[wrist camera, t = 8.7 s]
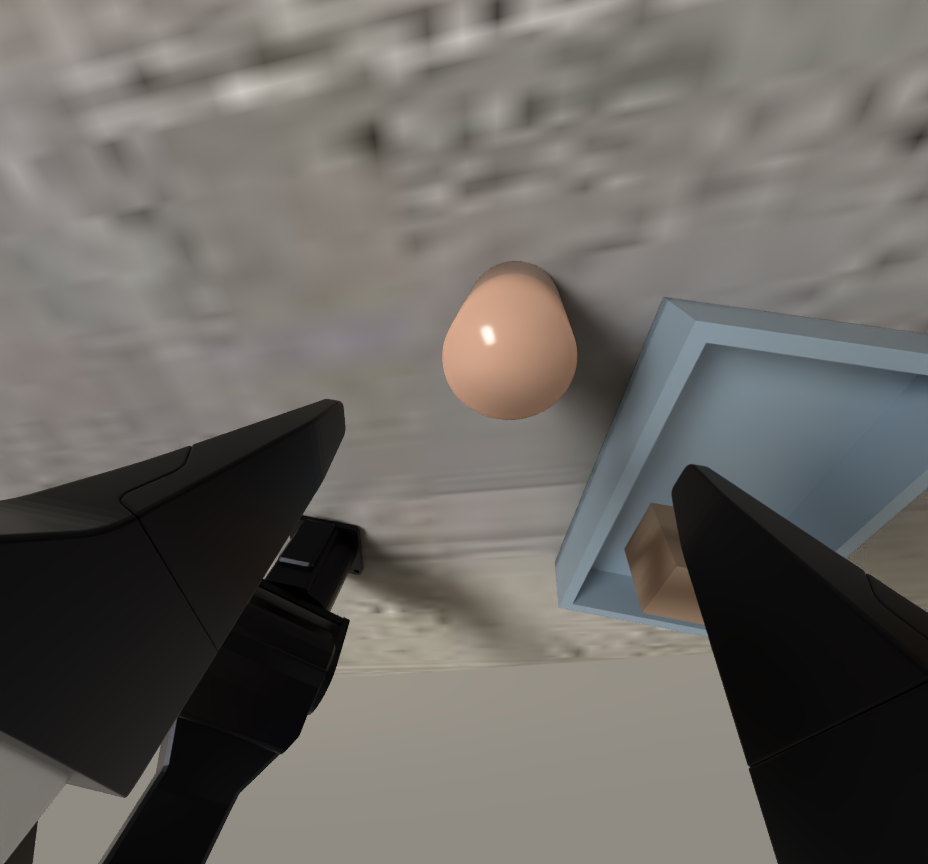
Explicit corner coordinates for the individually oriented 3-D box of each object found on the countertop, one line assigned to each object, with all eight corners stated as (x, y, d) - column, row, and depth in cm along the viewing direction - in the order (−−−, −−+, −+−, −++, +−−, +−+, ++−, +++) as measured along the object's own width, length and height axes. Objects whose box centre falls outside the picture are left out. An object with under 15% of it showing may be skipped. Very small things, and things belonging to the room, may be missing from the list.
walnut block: (691, 561, 27) (721, 628, 22) (624, 548, 27) (642, 612, 23) (726, 515, 24) (768, 583, 20) (650, 502, 24) (676, 565, 20)
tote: (720, 593, 29) (745, 644, 26) (554, 562, 30) (558, 607, 26) (955, 338, 17) (1060, 373, 13) (663, 296, 18) (695, 320, 14)
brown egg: (548, 362, 20) (557, 428, 15) (462, 349, 21) (438, 409, 15) (572, 268, 17) (595, 304, 12) (472, 254, 18) (447, 283, 12)
